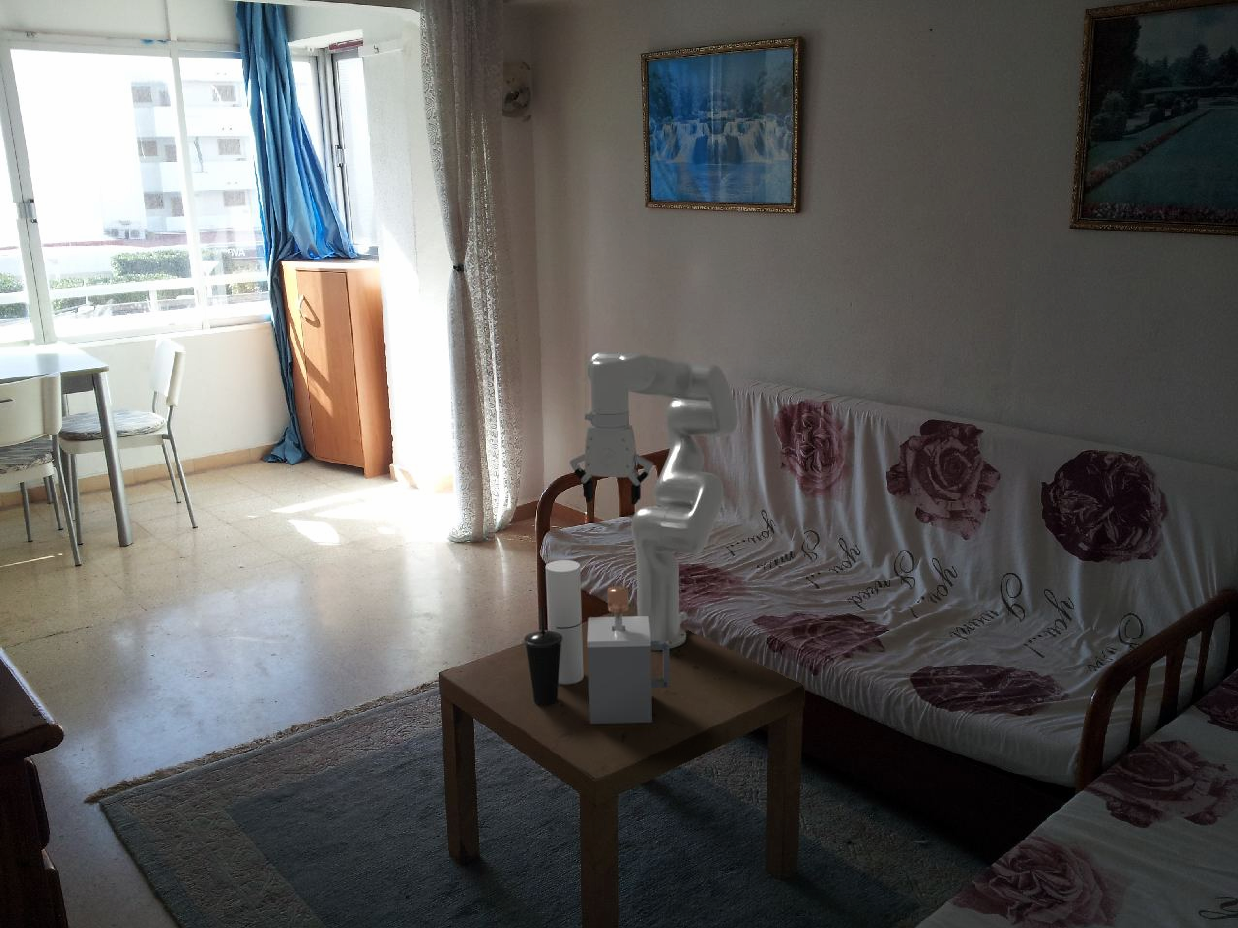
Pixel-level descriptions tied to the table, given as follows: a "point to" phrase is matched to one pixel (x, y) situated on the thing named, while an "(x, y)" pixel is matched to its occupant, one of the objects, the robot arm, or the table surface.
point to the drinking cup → (544, 663)
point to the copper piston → (618, 603)
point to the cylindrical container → (566, 616)
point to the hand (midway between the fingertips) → (612, 501)
